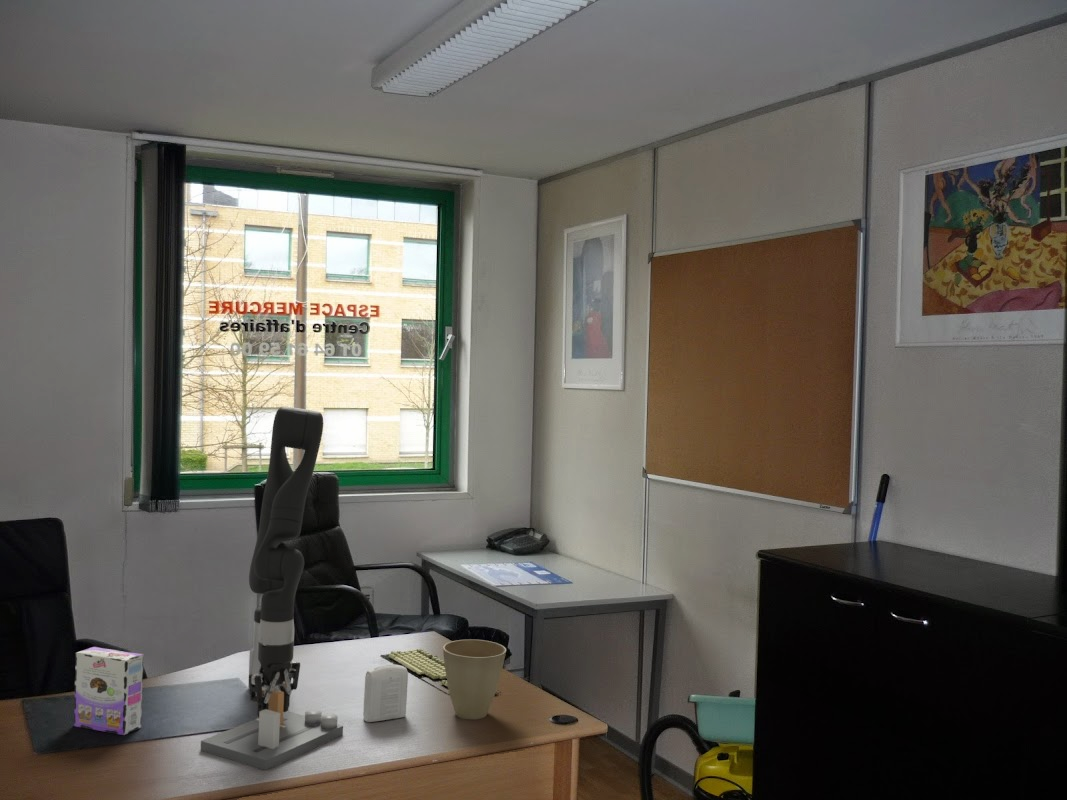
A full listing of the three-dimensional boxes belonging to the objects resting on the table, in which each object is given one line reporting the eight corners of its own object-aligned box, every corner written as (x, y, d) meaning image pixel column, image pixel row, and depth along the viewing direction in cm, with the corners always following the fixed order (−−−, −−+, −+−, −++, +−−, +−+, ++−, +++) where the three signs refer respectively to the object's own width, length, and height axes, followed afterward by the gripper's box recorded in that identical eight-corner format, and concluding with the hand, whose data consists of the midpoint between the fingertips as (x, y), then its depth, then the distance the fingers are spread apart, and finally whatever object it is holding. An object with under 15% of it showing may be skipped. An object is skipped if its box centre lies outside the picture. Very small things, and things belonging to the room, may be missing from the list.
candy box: (142, 727, 224) (145, 653, 223) (123, 736, 218) (126, 660, 218) (91, 718, 228) (94, 645, 228) (72, 726, 223) (74, 651, 222)
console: (200, 750, 213) (202, 707, 212) (280, 718, 234) (282, 679, 234) (265, 770, 204) (267, 725, 204) (342, 734, 225) (344, 694, 225)
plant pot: (438, 724, 235) (441, 655, 234) (441, 703, 249) (444, 638, 249) (503, 726, 235) (507, 657, 235) (502, 705, 250) (505, 640, 250)
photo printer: (400, 712, 242) (402, 660, 241) (408, 717, 238) (411, 665, 238) (360, 718, 236) (362, 665, 236) (368, 724, 233) (370, 670, 232)
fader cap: (263, 722, 224) (264, 690, 224) (268, 720, 226) (270, 688, 226) (277, 726, 223) (278, 694, 222) (282, 723, 224) (284, 692, 224)
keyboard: (379, 658, 287) (380, 649, 287) (425, 653, 295) (426, 644, 295) (461, 706, 250) (462, 696, 250) (511, 698, 258) (512, 688, 258)
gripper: (285, 629, 232) (282, 702, 232) (239, 643, 219) (236, 720, 220) (311, 635, 228) (308, 709, 229) (266, 649, 216) (263, 728, 216)
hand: (273, 714), depth 224 cm, fingers open, 6 cm apart
